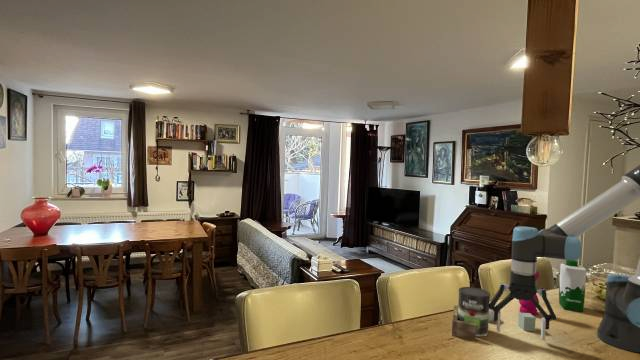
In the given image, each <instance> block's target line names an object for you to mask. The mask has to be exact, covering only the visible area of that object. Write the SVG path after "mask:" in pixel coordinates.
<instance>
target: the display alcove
mask: <svg viewBox="0 0 640 360" xmlns="http://www.w3.org/2000/svg"><path fill="white" fill-rule="evenodd" d="M451 324H452V326H451V327H452V328H451V336H452V337H458V338H463V339H468V340H472V341H473V340H474V341H476V339H477V338H476V337H477V336H476V324H475V323H469V322H464V321H458V305H454V306H453V313H452V323H451Z"/></svg>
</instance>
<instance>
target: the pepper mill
mask: <svg viewBox="0 0 640 360" xmlns="http://www.w3.org/2000/svg"><path fill="white" fill-rule="evenodd" d="M535 275H536V284H535V287H536V286H537V285H538V281H537V280H538V279H539V277H540V273H539V272H538V270H537V269H536V273H535ZM533 297H534V298H535V300H536V301H537V302H538V303H539V304H540V301H539V297H538V295H537V293H536V294H535V295H534V296H533ZM518 303H519V305H520V306H519V313H530V314H531V315H533V316H534V317H535V316H537V315H538V309H537V307H536V306H535V305H534V304H533V303H532V301H531V300H528V301H524V300H518Z"/></svg>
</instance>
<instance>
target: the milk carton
mask: <svg viewBox="0 0 640 360" xmlns="http://www.w3.org/2000/svg"><path fill="white" fill-rule="evenodd" d="M565 261H566V262H565V263H560V267H559V268H560V270H559V283H558V284H559V285H558V287H559V288H558V300H559V301H558V304H559V305H560V307H561V308H562V309H563V310H565V311H566V310H567V311H571V312H572V311H573V312H574V311H575V312H580V313H581V312H582V313H583V312H584V308H585V296H586V281H587V280H586V279H587V269H586V268H585V267H584V266H582V265H579V264H578V263H579V262H578V260H565Z"/></svg>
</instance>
